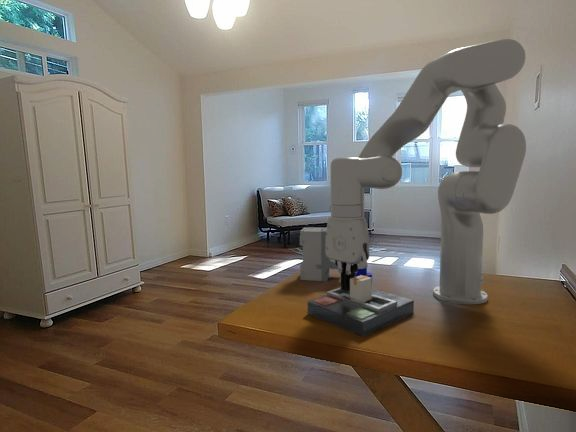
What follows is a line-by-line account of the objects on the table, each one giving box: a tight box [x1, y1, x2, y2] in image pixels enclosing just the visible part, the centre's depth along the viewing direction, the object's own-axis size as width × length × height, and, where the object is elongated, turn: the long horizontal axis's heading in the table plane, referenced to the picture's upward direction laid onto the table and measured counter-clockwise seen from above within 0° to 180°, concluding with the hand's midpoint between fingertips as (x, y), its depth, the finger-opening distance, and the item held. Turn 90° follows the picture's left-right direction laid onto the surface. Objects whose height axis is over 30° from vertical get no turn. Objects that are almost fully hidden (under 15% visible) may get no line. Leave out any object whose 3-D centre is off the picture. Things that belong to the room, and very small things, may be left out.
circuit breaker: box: [299, 226, 338, 282], centre depth 112 cm, size 8×14×15 cm, turn 78°
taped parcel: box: [350, 275, 373, 302], centre depth 82 cm, size 4×3×5 cm
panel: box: [307, 287, 415, 337], centre depth 83 cm, size 18×16×4 cm
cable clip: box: [355, 267, 373, 279], centre depth 110 cm, size 12×4×6 cm, turn 171°
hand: (347, 289), depth 86 cm, fingers closed
